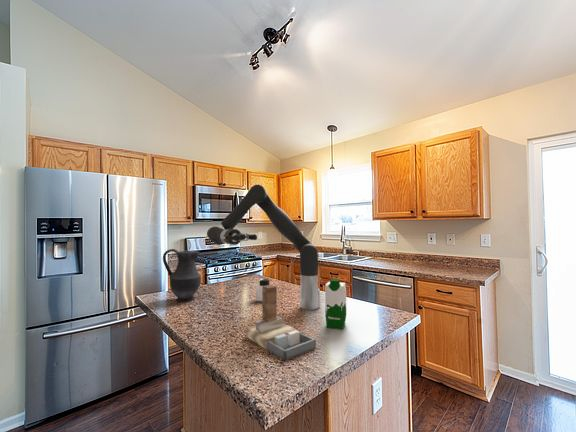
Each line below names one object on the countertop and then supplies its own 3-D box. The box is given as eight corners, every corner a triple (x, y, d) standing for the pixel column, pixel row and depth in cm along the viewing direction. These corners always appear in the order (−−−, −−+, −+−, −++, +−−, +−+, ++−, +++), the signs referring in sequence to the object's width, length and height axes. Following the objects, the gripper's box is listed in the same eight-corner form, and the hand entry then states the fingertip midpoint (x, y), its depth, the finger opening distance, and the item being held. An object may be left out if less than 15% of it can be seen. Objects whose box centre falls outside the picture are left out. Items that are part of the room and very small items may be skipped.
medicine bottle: (272, 299, 158) (272, 278, 159) (266, 302, 152) (266, 280, 152) (262, 297, 161) (262, 277, 162) (255, 300, 155) (255, 279, 155)
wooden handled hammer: (255, 329, 104) (255, 287, 104) (276, 323, 110) (276, 283, 110) (261, 332, 100) (261, 289, 101) (282, 326, 107) (282, 285, 107)
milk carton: (323, 328, 113) (323, 280, 114) (327, 320, 122) (327, 276, 123) (345, 330, 111) (344, 281, 111) (347, 323, 119) (347, 277, 120)
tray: (267, 350, 94) (267, 341, 94) (297, 339, 103) (297, 331, 103) (284, 360, 86) (284, 351, 86) (315, 348, 95) (315, 339, 95)
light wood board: (246, 336, 105) (246, 327, 105) (275, 328, 114) (275, 319, 114) (266, 349, 94) (266, 339, 94) (297, 338, 103) (297, 329, 103)
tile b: (274, 336, 94) (278, 338, 93) (283, 333, 97) (287, 335, 95) (274, 348, 94) (278, 350, 93) (283, 345, 97) (287, 346, 95)
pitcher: (200, 302, 151) (200, 249, 152) (159, 306, 145) (160, 250, 146) (201, 295, 168) (201, 247, 169) (164, 298, 162) (165, 248, 163)
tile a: (287, 332, 97) (290, 334, 96) (295, 330, 100) (299, 331, 98) (287, 344, 97) (291, 345, 96) (295, 341, 100) (299, 342, 98)
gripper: (217, 229, 127) (233, 229, 114) (243, 228, 136) (261, 229, 123) (217, 245, 126) (233, 247, 114) (243, 243, 135) (261, 245, 123)
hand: (247, 237), depth 118 cm, fingers open, 8 cm apart
